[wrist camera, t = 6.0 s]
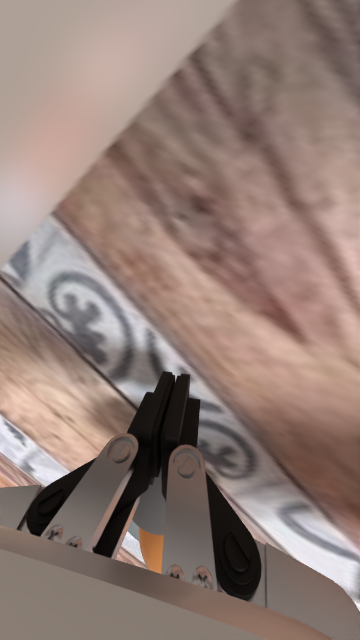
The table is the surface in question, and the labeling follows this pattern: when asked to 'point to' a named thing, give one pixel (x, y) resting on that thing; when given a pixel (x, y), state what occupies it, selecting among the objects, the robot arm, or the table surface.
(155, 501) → the dark grey ball
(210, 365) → the table surface
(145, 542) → the orange ball
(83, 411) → the table surface
